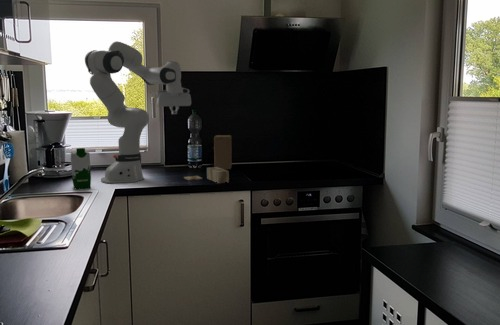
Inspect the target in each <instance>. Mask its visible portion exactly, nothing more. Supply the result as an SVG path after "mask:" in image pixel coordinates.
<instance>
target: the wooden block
mask: <svg viewBox="0 0 500 325" xmlns="http://www.w3.org/2000/svg"><path fill="white" fill-rule="evenodd" d="M232 140H233V139H232V135H230V134H227V135H225V134H224V135H223V134H222V135H221V134H217V135H215V136H214V137H213V145H214V146H213V147H214V148H213V151H214V152H213V153H214V155H213V158H214V162H213V164H214V166H213V167H218V168H221V169H224V170H231V169H232V167H233V166H232V165H233V164H232V160H233V159H232V154H233V153H232V149H233V148H232V144H233V143H232Z"/></svg>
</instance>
